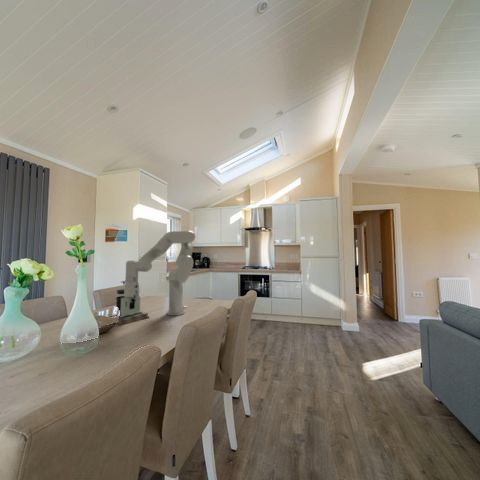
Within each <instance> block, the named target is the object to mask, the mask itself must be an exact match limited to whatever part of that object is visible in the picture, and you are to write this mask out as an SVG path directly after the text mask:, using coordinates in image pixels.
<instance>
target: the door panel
mask: <svg viewBox="0 0 480 480" xmlns="http://www.w3.org/2000/svg"><path fill="white" fill-rule="evenodd" d="M132 300H133V299H132ZM130 303H131V298H129V297H128V298H122V299H121V311H120V315H127V314H131V313H136V312H140V311H141V296H140V295H139V297H138V299H137V300H136V301H135V308H134V309H130Z"/></svg>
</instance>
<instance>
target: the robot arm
mask: <svg viewBox="0 0 480 480" xmlns="http://www.w3.org/2000/svg"><path fill="white" fill-rule="evenodd" d="M195 239H196V234H195V232H194V231H192V230H179V231H175V230H174V231H168V232H166V233H165V234H164V235H163V236H162V237H161V238H160V239H159V241H158V242H156V243H155V245H154V246H152V248H150V249H149V250H148V251H147V252H146V253H144V255H142V257H140V259H139V260H127V261H126V263H125V284H124V297H125V298H128V297H129V298H131V303H130V309H134V308H135V301H136V300H137V299H138V297H139V296H140V284H139V272H142V273H146V272H149V271H151V269H152V268H153V265H152V263H153V262H154V261H155V260H156V259H158V258H160V257H162V256H163V255H164V254H166V252H168V250H169V249H170V248H171V247H172V246H173V244H180V245H181V248H180V250H179V254H178V256H177V258H176V260H175V265H176V266H177V268H174V269H172V270H170V271H169V274H168V285H169V287H168V289H169V290H168V291H169V292H168V311H165V312H166V315H167V316H181V315H184V314H185V309H188V306H187V305H184V306H183V300H184V299H183V298H184V297H183V296H184V295H183V294H184V293H183V292H184V286H183V285H184V284H185V283H186V282H187V281H188V279H189V278H190V274H191V272H192V269H193V267H194V259H193V257H192V254H193V251H194V245H193V242H194V241H195ZM132 299H133V300H132Z"/></svg>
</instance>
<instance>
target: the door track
mask: <svg viewBox="0 0 480 480" xmlns="http://www.w3.org/2000/svg"><path fill="white" fill-rule="evenodd" d="M146 319H150V316H149V313H148V312H143V311H141V310H140V312H136V313H131V314H127V315H122V316H120V317H119V319H118V322H117V323H116V324H115V325H118V326H123V325H127V324H130V323H135V322H139V321H143V320H146Z"/></svg>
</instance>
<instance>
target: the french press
mask: <svg viewBox="0 0 480 480" xmlns="http://www.w3.org/2000/svg"><path fill="white" fill-rule="evenodd" d="M121 283H122V284H123V285H125V281H121ZM124 288H125V286H123V288H121V289H116V294H117V295H119V296H116V299H115V300H116V306H115V308H116V307H118V308H119V310H120V311H121V299H122V298H125V297H124ZM121 295H122V296H121ZM120 316H122V315H120Z"/></svg>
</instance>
